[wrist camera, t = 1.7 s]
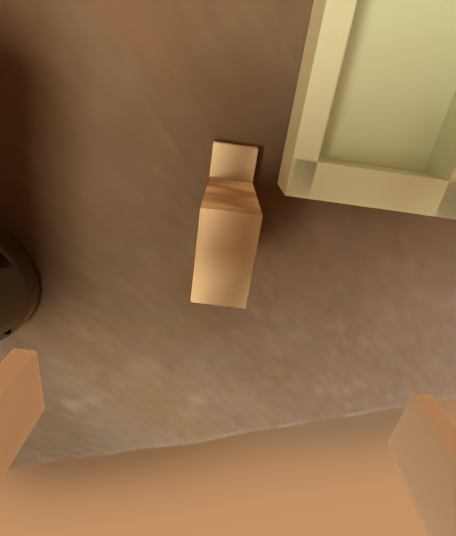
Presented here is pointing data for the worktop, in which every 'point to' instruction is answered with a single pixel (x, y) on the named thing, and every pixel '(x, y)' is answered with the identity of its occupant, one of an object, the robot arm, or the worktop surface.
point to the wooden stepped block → (227, 228)
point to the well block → (376, 107)
